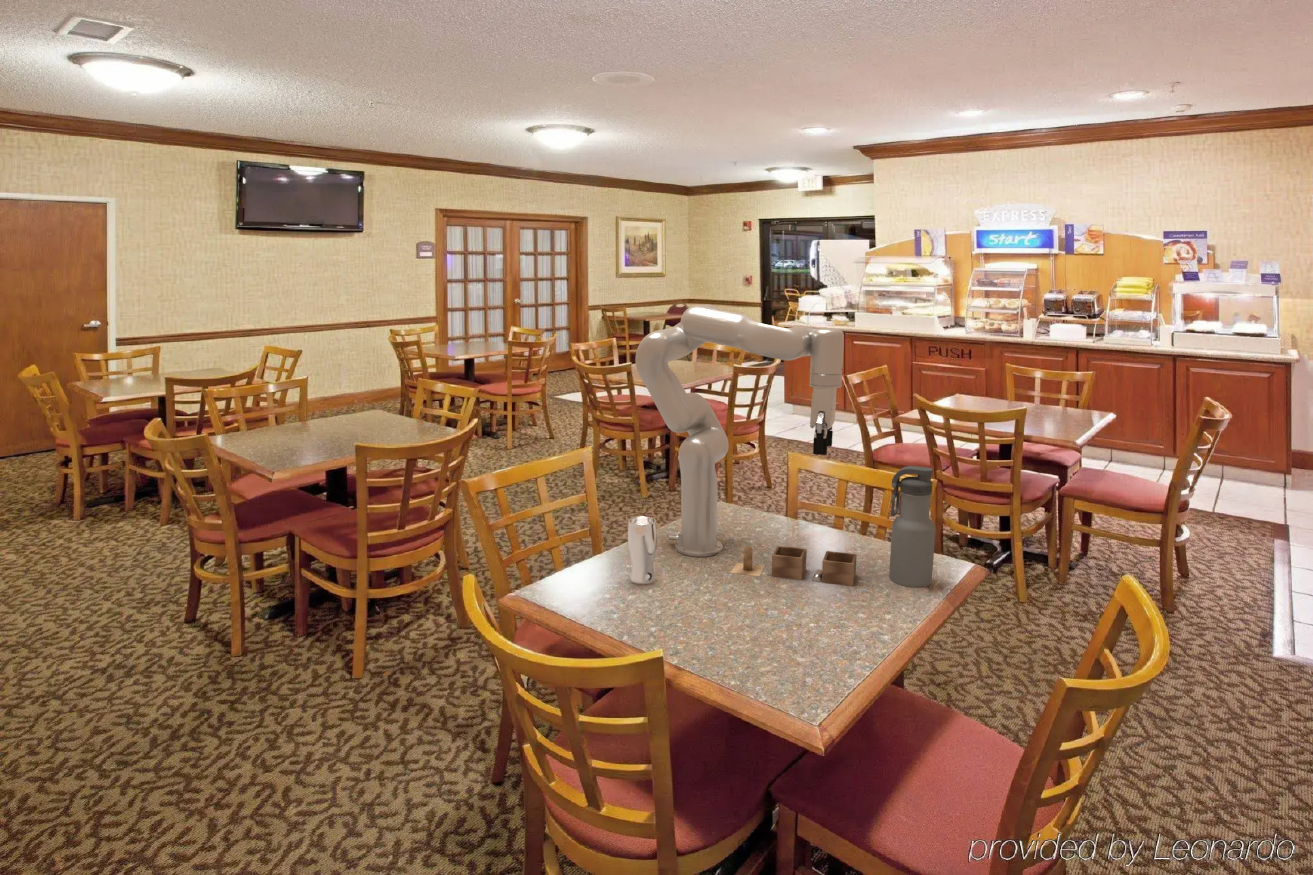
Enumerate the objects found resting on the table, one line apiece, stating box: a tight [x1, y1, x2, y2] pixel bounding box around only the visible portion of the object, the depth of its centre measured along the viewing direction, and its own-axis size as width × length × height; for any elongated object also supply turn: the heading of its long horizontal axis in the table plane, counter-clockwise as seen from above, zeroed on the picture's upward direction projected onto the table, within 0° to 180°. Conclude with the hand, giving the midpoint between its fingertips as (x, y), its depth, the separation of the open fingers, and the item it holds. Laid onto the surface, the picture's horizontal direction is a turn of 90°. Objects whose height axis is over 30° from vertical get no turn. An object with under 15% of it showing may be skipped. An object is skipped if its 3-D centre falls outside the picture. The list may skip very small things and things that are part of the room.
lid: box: [730, 545, 765, 577], centre depth 197 cm, size 7×7×7 cm
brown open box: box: [771, 545, 808, 581], centre depth 195 cm, size 7×7×6 cm
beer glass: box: [627, 516, 658, 585], centre depth 191 cm, size 7×7×15 cm
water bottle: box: [888, 465, 936, 588], centre depth 188 cm, size 10×10×28 cm
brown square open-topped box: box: [821, 550, 858, 587], centre depth 191 cm, size 7×7×6 cm
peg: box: [811, 569, 822, 583], centre depth 192 cm, size 5×2×2 cm
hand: (822, 450), depth 195 cm, fingers open, 9 cm apart
